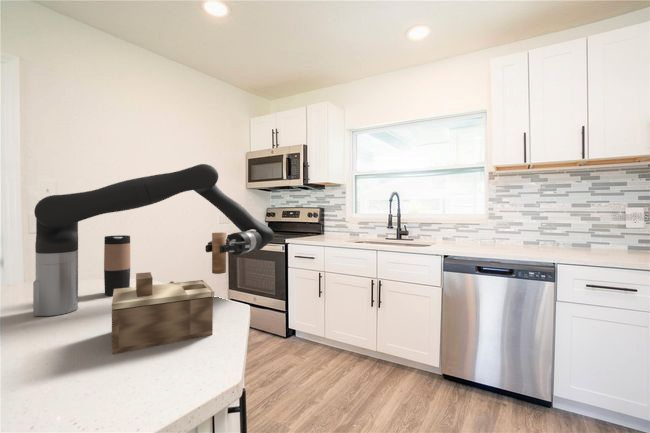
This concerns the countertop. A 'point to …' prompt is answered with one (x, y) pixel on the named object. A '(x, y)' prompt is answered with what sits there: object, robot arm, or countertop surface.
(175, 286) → the lid
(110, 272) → the travel mug
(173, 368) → the countertop surface
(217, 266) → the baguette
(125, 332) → the wooden box
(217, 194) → the robot arm
